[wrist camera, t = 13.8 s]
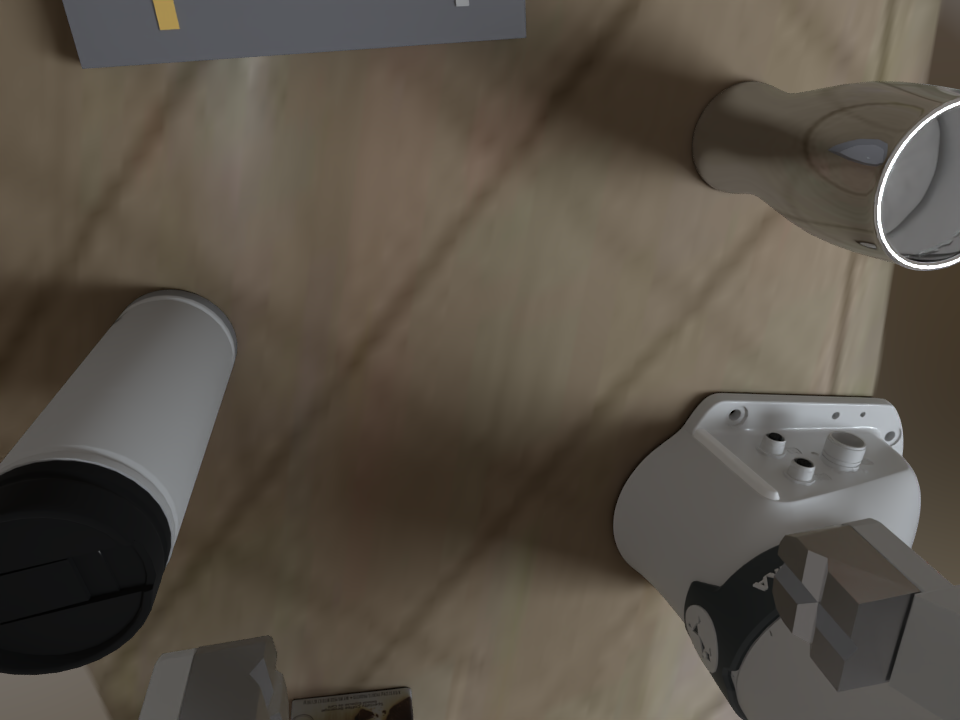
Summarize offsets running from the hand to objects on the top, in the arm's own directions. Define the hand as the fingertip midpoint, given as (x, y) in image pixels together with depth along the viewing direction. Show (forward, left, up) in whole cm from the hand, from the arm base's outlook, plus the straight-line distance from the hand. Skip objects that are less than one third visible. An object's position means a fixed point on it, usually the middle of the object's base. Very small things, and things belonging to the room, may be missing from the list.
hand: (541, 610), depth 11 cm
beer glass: (-20, -2, -29) cm, 36 cm away
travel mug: (+13, +6, -29) cm, 33 cm away
